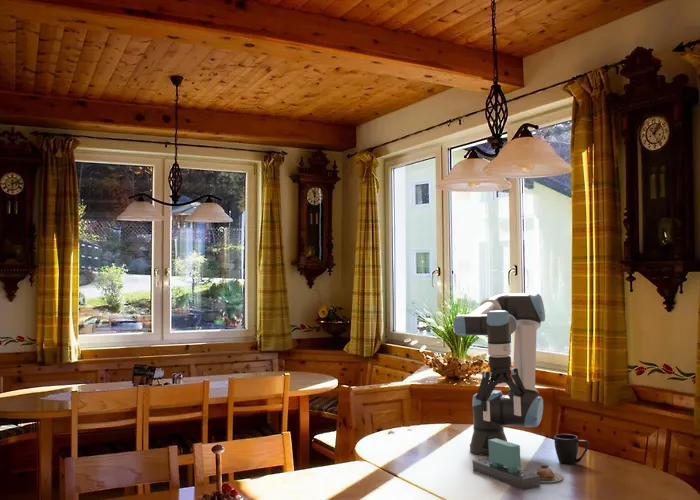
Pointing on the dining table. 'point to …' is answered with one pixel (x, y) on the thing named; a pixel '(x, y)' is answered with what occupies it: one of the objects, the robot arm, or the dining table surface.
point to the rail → (507, 474)
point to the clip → (504, 454)
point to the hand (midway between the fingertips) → (502, 418)
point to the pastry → (547, 474)
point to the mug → (568, 448)
